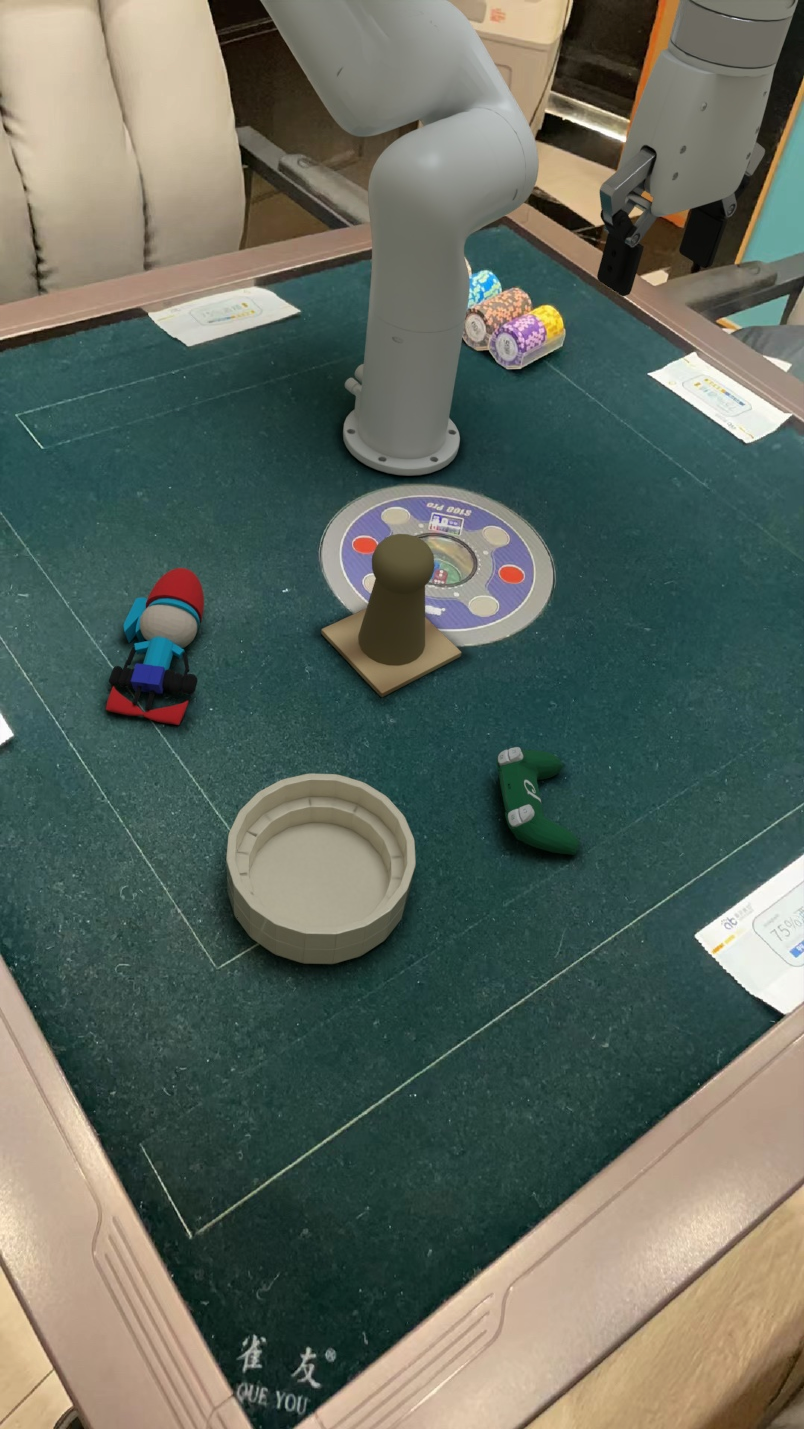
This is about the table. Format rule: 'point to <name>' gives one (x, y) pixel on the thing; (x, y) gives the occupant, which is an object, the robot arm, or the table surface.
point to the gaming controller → (531, 799)
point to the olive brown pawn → (397, 601)
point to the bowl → (319, 868)
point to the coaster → (389, 676)
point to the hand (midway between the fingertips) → (654, 273)
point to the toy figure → (160, 645)
